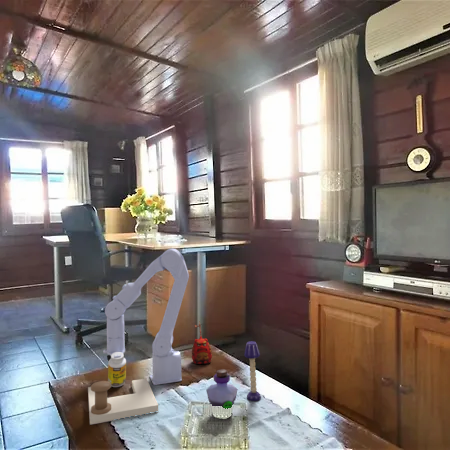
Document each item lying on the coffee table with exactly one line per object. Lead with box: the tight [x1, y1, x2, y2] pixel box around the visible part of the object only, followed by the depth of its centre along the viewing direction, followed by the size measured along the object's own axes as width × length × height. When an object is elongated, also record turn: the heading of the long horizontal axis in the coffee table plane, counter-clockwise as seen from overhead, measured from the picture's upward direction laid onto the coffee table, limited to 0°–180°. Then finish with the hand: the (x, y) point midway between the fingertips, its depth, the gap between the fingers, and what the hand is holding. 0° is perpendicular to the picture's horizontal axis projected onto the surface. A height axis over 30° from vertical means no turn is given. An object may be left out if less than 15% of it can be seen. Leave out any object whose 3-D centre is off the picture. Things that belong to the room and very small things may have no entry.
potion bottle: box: [205, 369, 238, 409], centre depth 105 cm, size 9×9×12 cm
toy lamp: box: [243, 340, 262, 402], centre depth 115 cm, size 5×5×17 cm
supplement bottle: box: [107, 352, 127, 388], centre depth 124 cm, size 6×6×10 cm
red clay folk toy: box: [191, 320, 213, 365], centre depth 146 cm, size 8×7×15 cm
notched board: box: [87, 378, 159, 426], centre depth 113 cm, size 18×20×9 cm
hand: (116, 376), depth 129 cm, fingers closed
